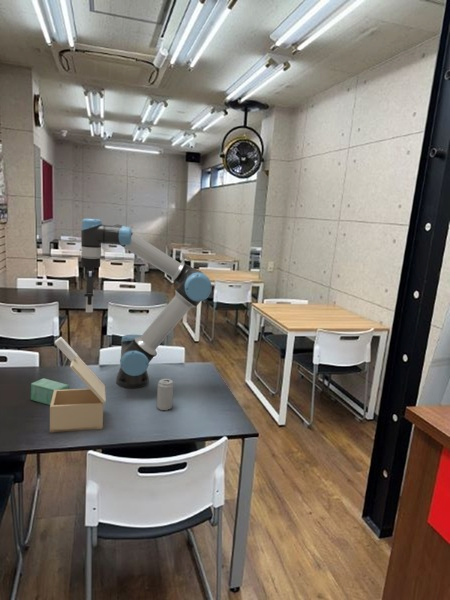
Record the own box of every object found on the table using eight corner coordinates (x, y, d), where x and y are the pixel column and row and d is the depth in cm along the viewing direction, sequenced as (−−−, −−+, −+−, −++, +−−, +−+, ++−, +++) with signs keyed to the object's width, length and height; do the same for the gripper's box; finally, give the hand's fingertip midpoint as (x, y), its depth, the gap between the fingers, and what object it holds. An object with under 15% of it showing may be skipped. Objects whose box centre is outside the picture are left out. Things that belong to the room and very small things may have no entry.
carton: (102, 411, 162) (103, 388, 160) (102, 429, 148) (103, 404, 146) (53, 413, 156) (54, 389, 154) (49, 432, 143) (49, 406, 141)
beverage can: (174, 406, 171) (176, 380, 169) (167, 412, 165) (169, 385, 163) (161, 403, 173) (162, 376, 171) (153, 409, 167) (155, 382, 165)
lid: (103, 387, 160) (108, 383, 160) (103, 403, 146) (109, 399, 147) (56, 336, 150) (62, 332, 150) (52, 348, 137) (58, 343, 137)
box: (57, 407, 161) (57, 390, 160) (30, 400, 165) (30, 383, 164) (69, 400, 168) (69, 383, 167) (43, 394, 172) (43, 377, 171)
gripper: (82, 253, 173) (81, 301, 178) (79, 260, 150) (78, 315, 154) (100, 254, 176) (99, 301, 180) (100, 261, 152) (99, 315, 157)
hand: (89, 308), depth 167 cm, fingers open, 13 cm apart
